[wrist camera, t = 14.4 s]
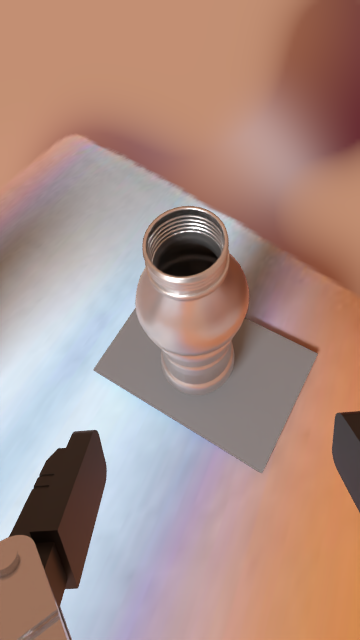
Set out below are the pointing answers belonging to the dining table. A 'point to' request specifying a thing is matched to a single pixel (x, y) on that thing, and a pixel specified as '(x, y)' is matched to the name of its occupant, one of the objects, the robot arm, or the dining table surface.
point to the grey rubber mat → (228, 400)
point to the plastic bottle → (191, 298)
